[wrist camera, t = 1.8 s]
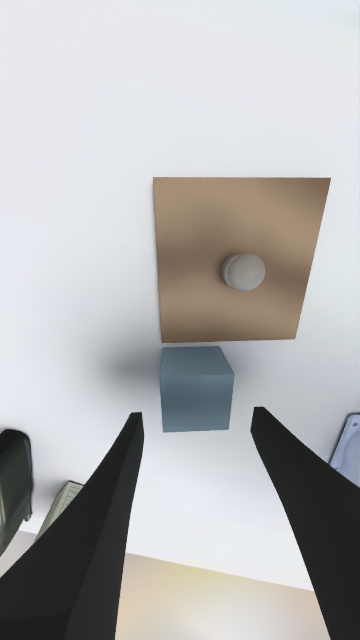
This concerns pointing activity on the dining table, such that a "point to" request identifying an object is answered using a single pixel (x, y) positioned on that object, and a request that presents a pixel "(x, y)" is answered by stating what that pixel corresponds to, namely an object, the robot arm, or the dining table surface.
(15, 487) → the mobile phone
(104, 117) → the dining table surface
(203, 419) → the slate blue cube
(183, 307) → the board
